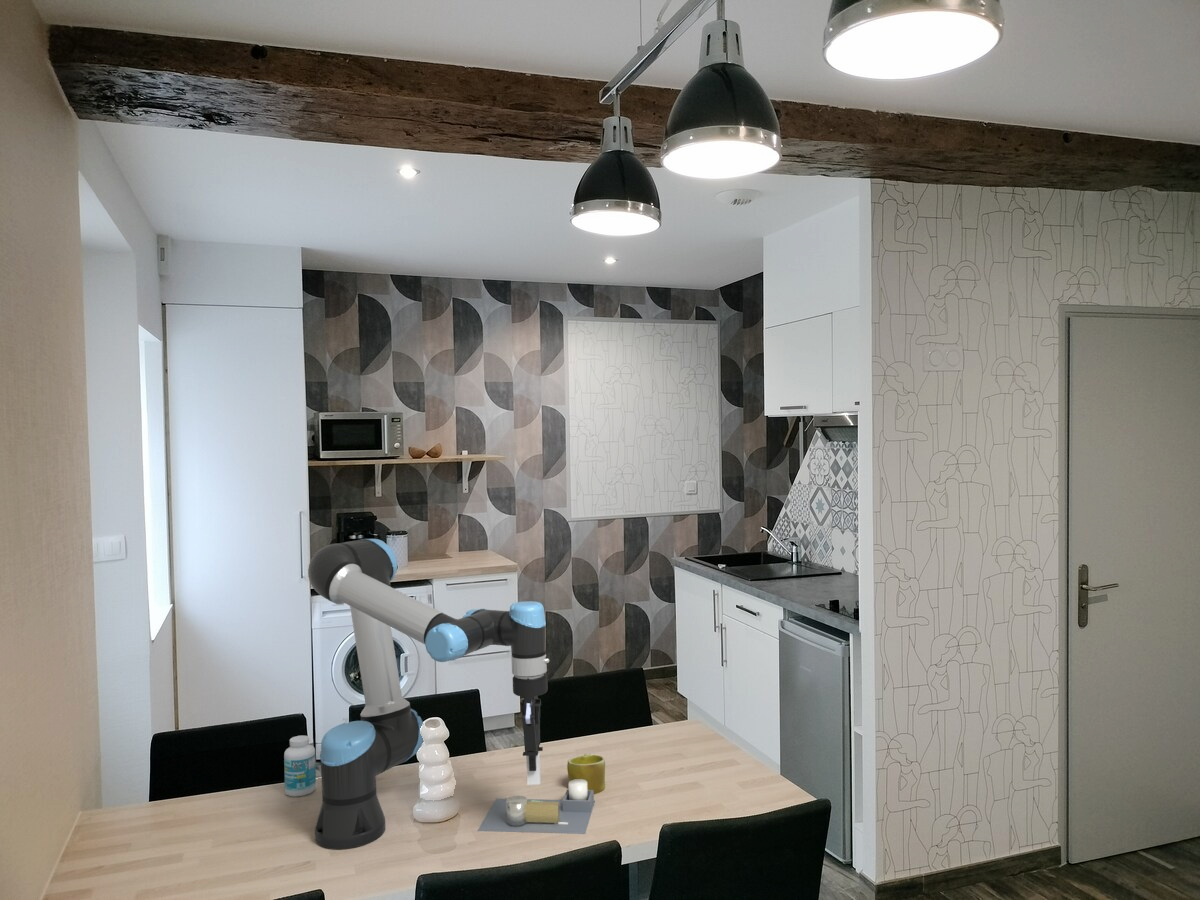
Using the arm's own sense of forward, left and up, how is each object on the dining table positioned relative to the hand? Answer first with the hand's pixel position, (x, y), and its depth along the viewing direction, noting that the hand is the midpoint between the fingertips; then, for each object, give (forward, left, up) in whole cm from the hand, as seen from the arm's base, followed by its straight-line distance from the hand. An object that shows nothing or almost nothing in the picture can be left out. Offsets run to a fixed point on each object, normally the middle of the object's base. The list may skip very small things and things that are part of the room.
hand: (534, 783), depth 180 cm
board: (-1, +10, -13) cm, 16 cm away
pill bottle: (-65, +23, -13) cm, 70 cm away
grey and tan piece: (-2, +6, -11) cm, 13 cm away
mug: (+8, +28, -13) cm, 32 cm away
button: (+7, +16, -10) cm, 20 cm away
